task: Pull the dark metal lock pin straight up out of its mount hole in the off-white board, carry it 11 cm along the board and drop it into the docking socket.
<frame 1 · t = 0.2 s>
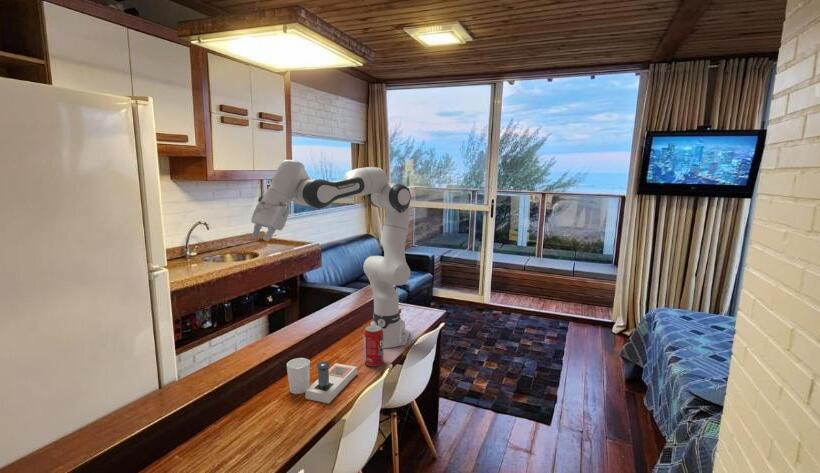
hand: (259, 238, 139), 54 cm above the table, tool tilted 30°, fingers open, 8 cm apart
white cup: (299, 389, 145), on the table
dock board: (332, 385, 148), on the table
lock pin: (324, 394, 142), resting in dock board
soda can: (373, 363, 165), on the table
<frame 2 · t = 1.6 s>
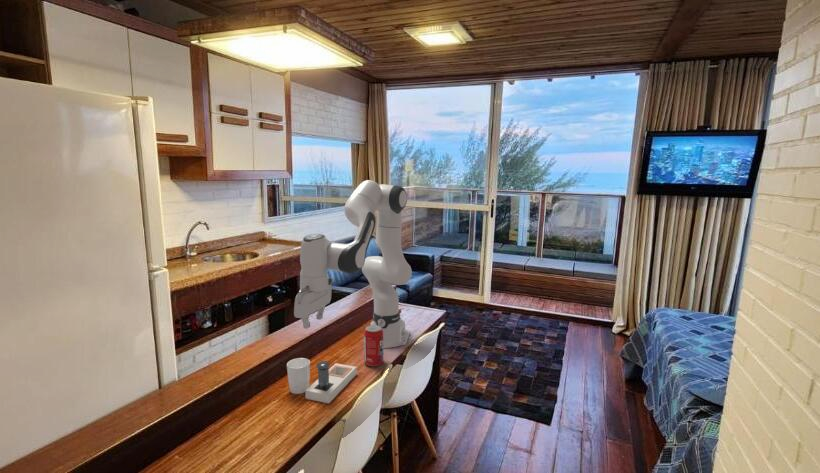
hand: (313, 323, 137), 26 cm above the table, tool pointing down, fingers open, 8 cm apart
nothing on the table moved.
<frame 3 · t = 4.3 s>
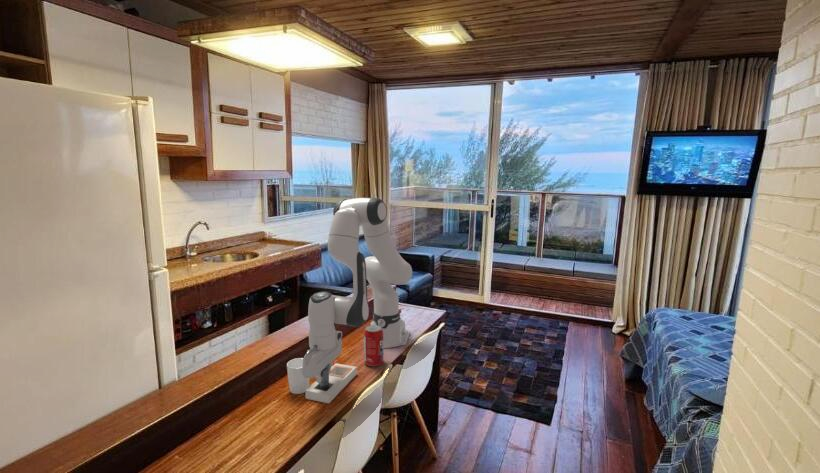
hand: (323, 377, 141), 6 cm above the table, tool pointing down, fingers closed on lock pin, 4 cm apart
lock pin: (324, 394, 142), resting in dock board, touching gripper
everything else where it was.
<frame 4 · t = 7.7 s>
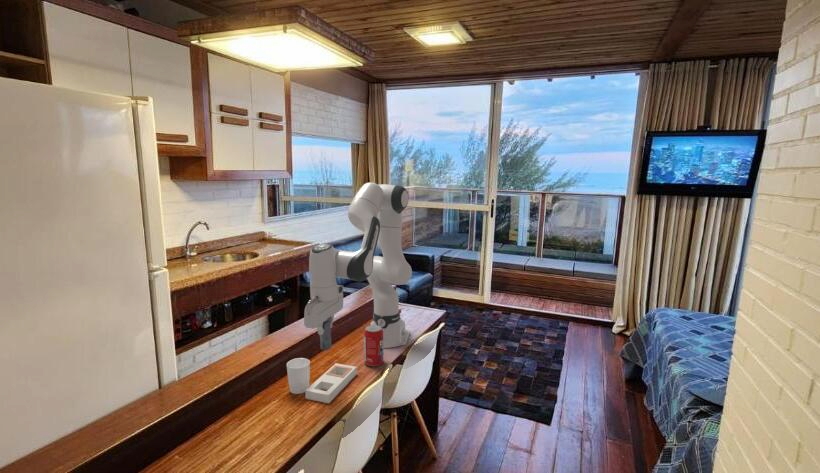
hand: (325, 330, 140), 22 cm above the table, tool pointing down, fingers closed on lock pin, 4 cm apart
lock pin: (326, 347, 141), point 16 cm above the table, touching gripper
everything else where it was.
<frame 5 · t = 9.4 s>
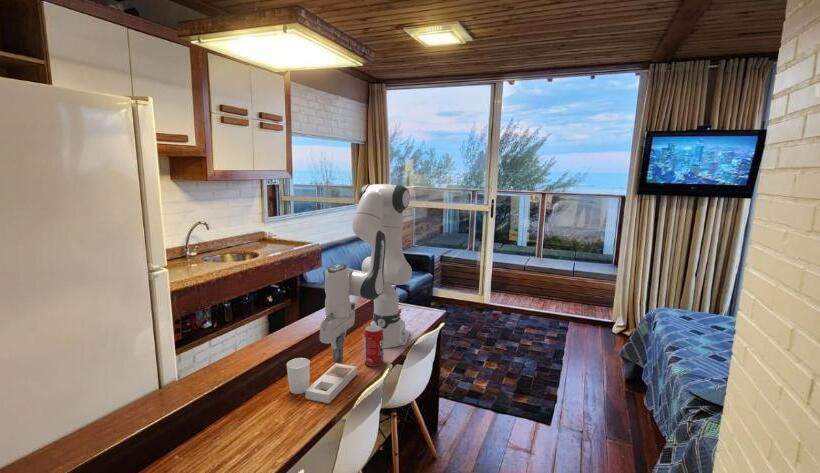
hand: (338, 345, 150), 13 cm above the table, tool pointing down, fingers closed on lock pin, 4 cm apart
lock pin: (338, 361, 151), point 7 cm above the table, touching gripper
everything else where it was.
when the fingers open (7 cm above the table, at t = 11.1 s): lock pin stays where it is, resting in dock board.
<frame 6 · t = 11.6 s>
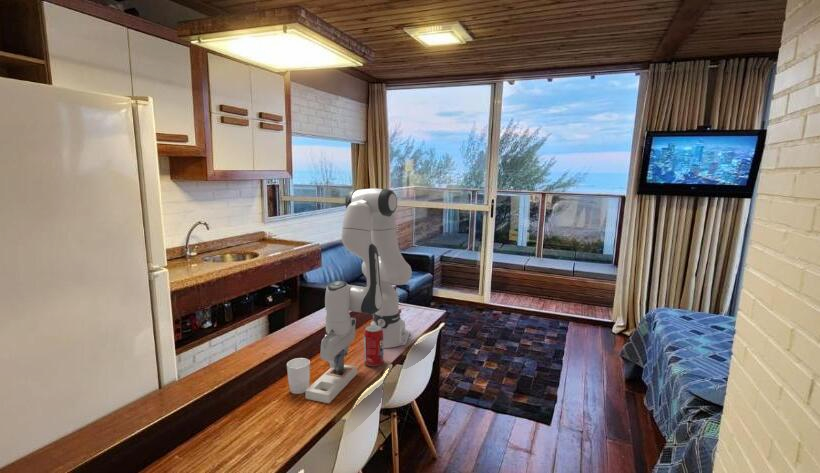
hand: (338, 361, 151), 7 cm above the table, tool pointing down, fingers open, 8 cm apart
lock pin: (339, 379, 152), resting in dock board
everything else where it was.
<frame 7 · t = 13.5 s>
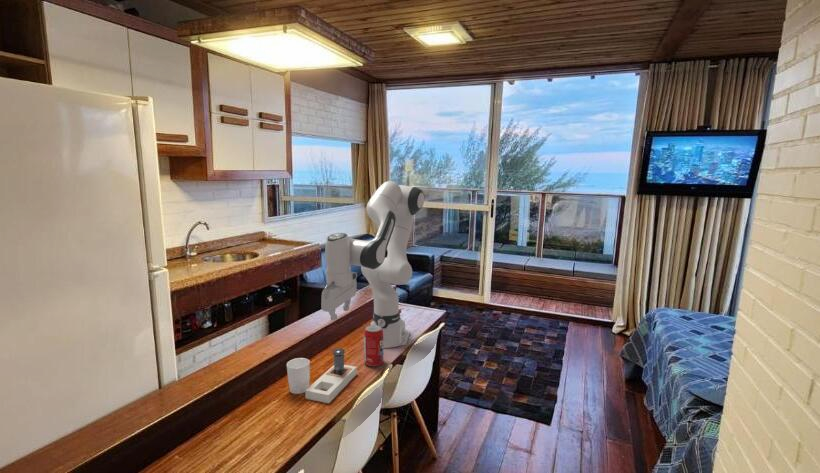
hand: (340, 314, 149), 25 cm above the table, tool pointing down, fingers open, 8 cm apart
nothing on the table moved.
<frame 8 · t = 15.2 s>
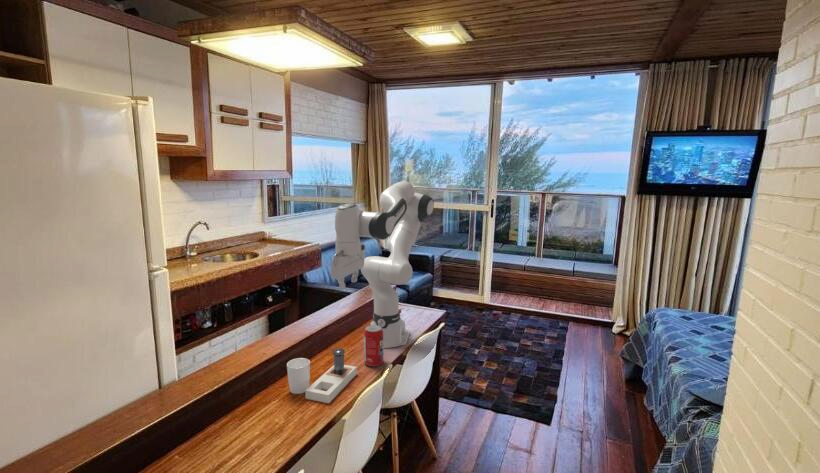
hand: (348, 285, 151), 35 cm above the table, tool pointing down, fingers open, 8 cm apart
nothing on the table moved.
at the end: lock pin 0.1 cm from the target spot on the dock board, point 0.0 cm above the dock board's base; lock pin tilted 0°; the gripper is holding nothing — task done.
